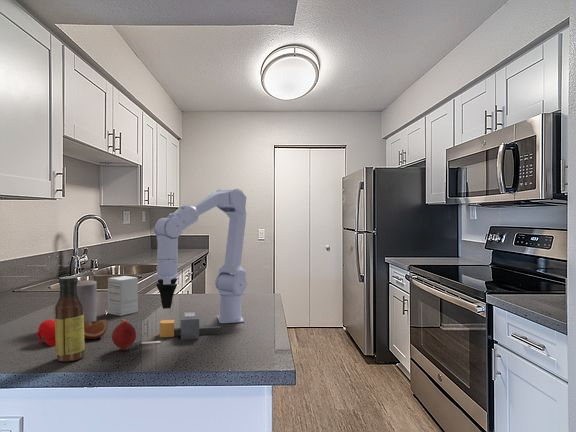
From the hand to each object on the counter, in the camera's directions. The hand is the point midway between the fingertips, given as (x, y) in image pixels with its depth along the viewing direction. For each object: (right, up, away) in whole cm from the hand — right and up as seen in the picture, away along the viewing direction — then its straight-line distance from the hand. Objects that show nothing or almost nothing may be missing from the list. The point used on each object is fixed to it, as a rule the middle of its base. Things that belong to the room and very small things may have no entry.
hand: (166, 305), depth 123 cm
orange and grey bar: (+6, -9, +2) cm, 11 cm away
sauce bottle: (-18, -9, -20) cm, 29 cm away
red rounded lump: (-7, -9, -13) cm, 18 cm away
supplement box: (-24, -9, +28) cm, 38 cm away
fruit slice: (-20, -9, -3) cm, 23 cm away
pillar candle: (-30, -9, +9) cm, 33 cm away
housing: (+6, -9, +2) cm, 11 cm away
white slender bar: (-2, -9, -7) cm, 12 cm away
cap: (-30, -9, -8) cm, 32 cm away
